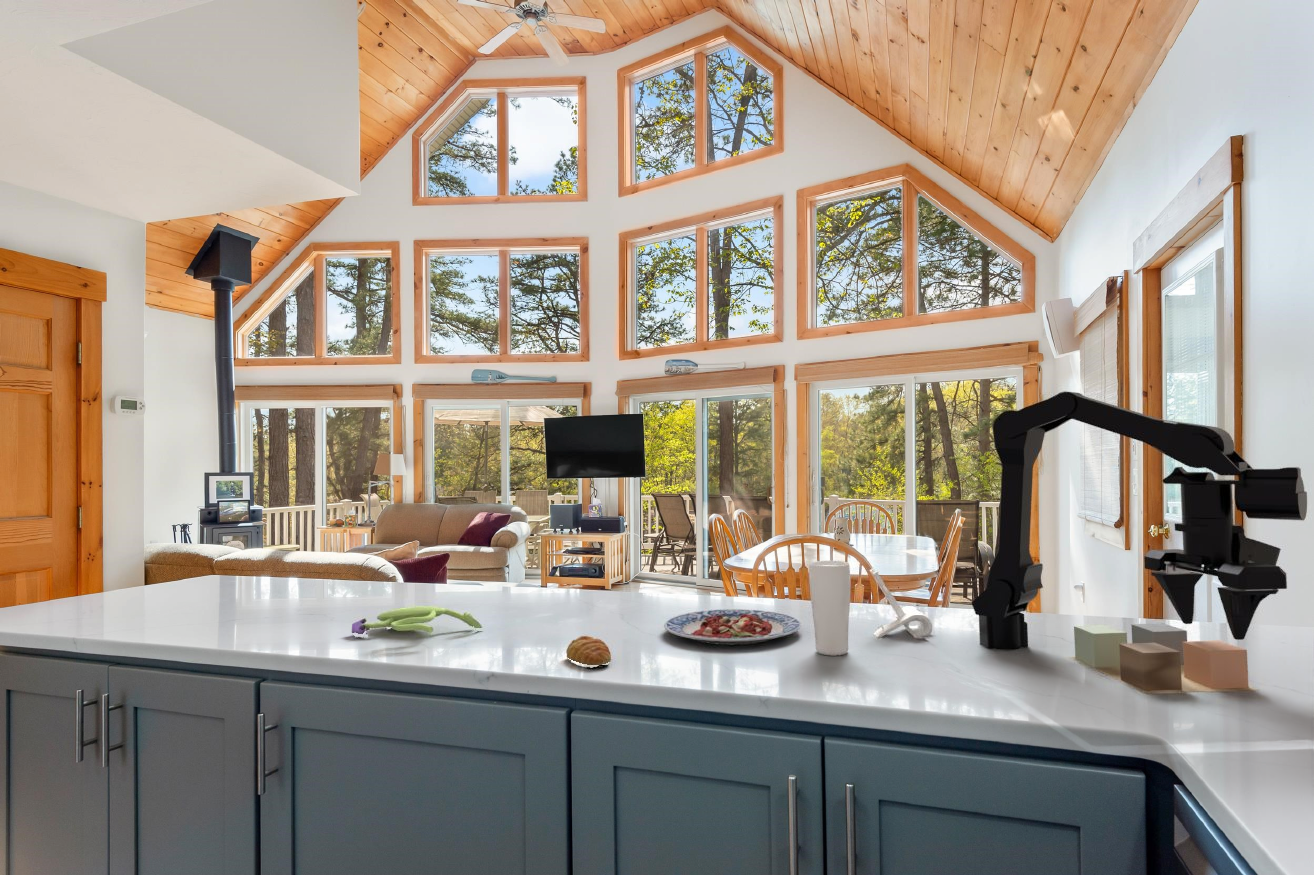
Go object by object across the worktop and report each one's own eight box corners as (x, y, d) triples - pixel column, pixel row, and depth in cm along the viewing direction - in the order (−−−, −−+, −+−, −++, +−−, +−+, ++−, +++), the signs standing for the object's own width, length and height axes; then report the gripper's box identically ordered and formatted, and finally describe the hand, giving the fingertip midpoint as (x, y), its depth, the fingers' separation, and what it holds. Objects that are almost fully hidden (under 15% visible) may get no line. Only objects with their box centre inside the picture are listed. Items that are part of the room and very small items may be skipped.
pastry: (621, 667, 121) (620, 643, 121) (582, 674, 118) (581, 650, 118) (599, 654, 129) (598, 632, 129) (562, 660, 126) (561, 638, 126)
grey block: (1155, 665, 110) (1153, 631, 110) (1132, 656, 115) (1131, 624, 115) (1188, 664, 110) (1186, 630, 110) (1164, 655, 115) (1163, 623, 115)
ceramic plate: (672, 619, 156) (672, 605, 156) (797, 620, 152) (797, 605, 152) (655, 651, 130) (655, 634, 130) (805, 653, 126) (804, 635, 127)
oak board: (1146, 699, 98) (1146, 693, 98) (1068, 662, 116) (1068, 657, 116) (1258, 695, 98) (1258, 689, 98) (1163, 659, 116) (1163, 654, 116)
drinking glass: (854, 658, 121) (850, 566, 122) (811, 657, 123) (808, 566, 123) (851, 647, 128) (848, 560, 128) (811, 647, 129) (808, 560, 130)
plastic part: (932, 639, 133) (930, 573, 133) (875, 638, 135) (873, 573, 135) (923, 629, 141) (921, 567, 141) (869, 628, 142) (867, 567, 142)
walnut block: (1144, 690, 99) (1143, 653, 99) (1120, 679, 104) (1119, 643, 104) (1182, 689, 99) (1180, 651, 99) (1156, 678, 104) (1154, 642, 104)
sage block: (1094, 667, 110) (1093, 633, 110) (1075, 658, 115) (1073, 626, 115) (1128, 666, 110) (1126, 632, 110) (1107, 657, 115) (1105, 625, 115)
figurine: (411, 656, 132) (410, 624, 132) (332, 637, 148) (332, 609, 149) (493, 634, 147) (492, 606, 147) (413, 620, 163) (413, 594, 163)
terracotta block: (1211, 688, 99) (1209, 650, 99) (1184, 677, 104) (1182, 641, 104) (1248, 687, 99) (1246, 649, 99) (1219, 676, 104) (1217, 640, 104)
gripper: (1326, 521, 93) (1333, 646, 93) (1213, 510, 112) (1217, 615, 111) (1239, 523, 93) (1244, 649, 93) (1139, 512, 112) (1144, 617, 111)
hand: (1212, 631), depth 102 cm, fingers open, 9 cm apart
